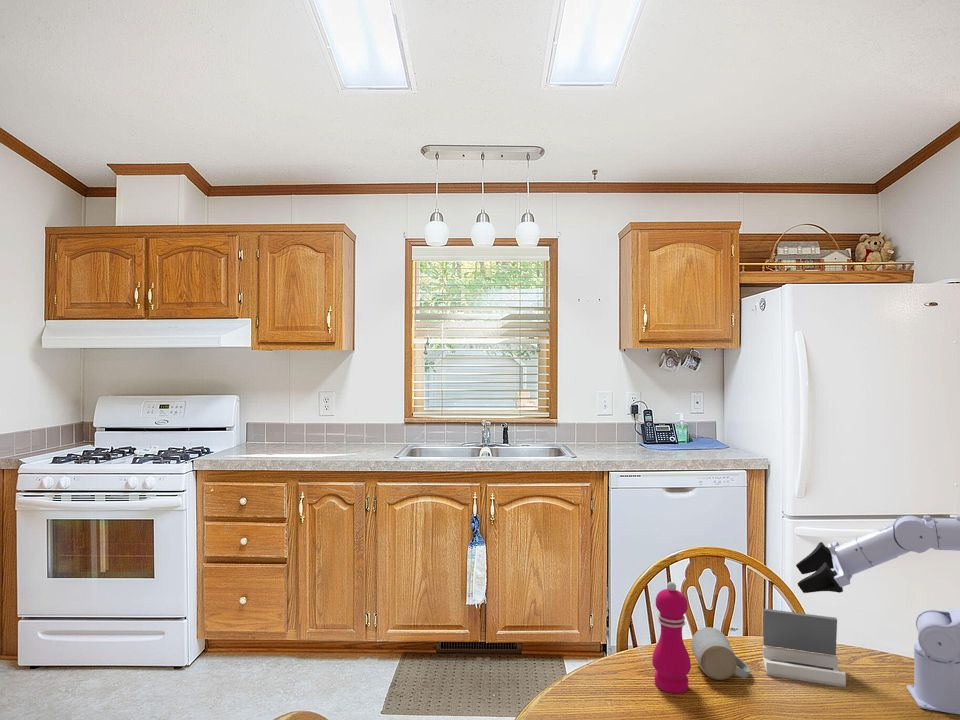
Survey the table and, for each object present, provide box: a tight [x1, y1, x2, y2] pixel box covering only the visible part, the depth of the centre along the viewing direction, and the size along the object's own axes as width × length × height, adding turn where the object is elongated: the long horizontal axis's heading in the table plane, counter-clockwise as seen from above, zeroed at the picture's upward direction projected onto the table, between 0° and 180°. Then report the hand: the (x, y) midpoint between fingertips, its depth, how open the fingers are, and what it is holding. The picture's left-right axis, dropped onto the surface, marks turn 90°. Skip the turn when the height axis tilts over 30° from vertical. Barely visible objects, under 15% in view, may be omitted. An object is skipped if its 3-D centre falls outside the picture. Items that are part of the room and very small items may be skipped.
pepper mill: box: [651, 581, 692, 694], centre depth 119 cm, size 7×7×20 cm
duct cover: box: [762, 608, 838, 656], centre depth 128 cm, size 14×8×1 cm
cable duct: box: [762, 645, 847, 688], centre depth 124 cm, size 14×8×2 cm, turn 70°
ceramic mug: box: [691, 626, 751, 681], centre depth 124 cm, size 11×8×8 cm
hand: (799, 578), depth 126 cm, fingers open, 7 cm apart
